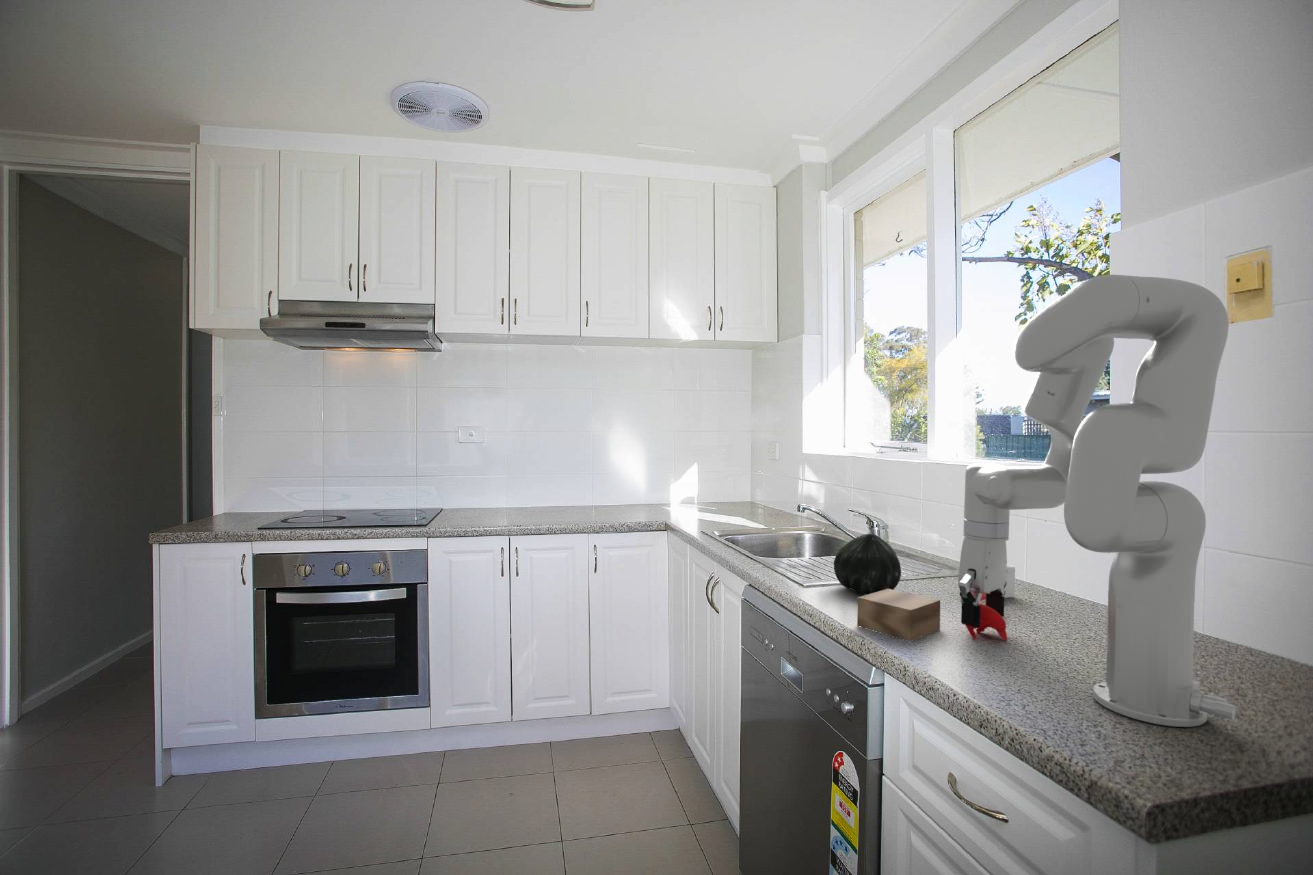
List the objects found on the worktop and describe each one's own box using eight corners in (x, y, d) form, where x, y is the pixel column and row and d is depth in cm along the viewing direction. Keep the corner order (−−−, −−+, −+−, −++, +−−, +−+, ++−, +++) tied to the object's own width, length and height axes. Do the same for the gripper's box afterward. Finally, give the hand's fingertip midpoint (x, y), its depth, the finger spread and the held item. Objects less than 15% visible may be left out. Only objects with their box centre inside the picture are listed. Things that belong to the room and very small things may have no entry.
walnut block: (939, 630, 123) (940, 600, 123) (910, 642, 116) (910, 610, 116) (887, 617, 132) (888, 588, 131) (857, 627, 125) (857, 597, 124)
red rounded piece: (956, 620, 118) (986, 609, 115) (959, 602, 123) (988, 591, 120) (982, 654, 118) (1013, 644, 115) (984, 635, 123) (1014, 625, 120)
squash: (855, 558, 163) (840, 518, 155) (914, 569, 154) (902, 527, 146) (834, 602, 156) (818, 563, 148) (896, 617, 146) (881, 576, 138)
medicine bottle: (966, 591, 152) (967, 541, 151) (990, 589, 154) (991, 540, 154) (990, 599, 145) (991, 547, 145) (1015, 597, 147) (1016, 545, 147)
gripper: (986, 522, 127) (983, 607, 128) (943, 531, 117) (940, 624, 117) (1026, 528, 121) (1023, 616, 122) (985, 538, 111) (981, 635, 111)
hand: (982, 620), depth 120 cm, fingers open, 9 cm apart
